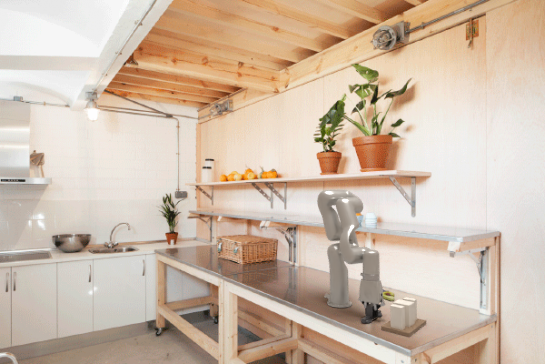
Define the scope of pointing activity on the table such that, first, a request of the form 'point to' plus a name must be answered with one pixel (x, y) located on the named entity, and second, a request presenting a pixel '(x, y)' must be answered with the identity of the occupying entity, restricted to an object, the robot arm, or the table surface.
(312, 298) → the table surface
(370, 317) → the grey bar with discs
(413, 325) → the boxes on tan tray
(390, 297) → the curved yellow hook
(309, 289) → the table surface
